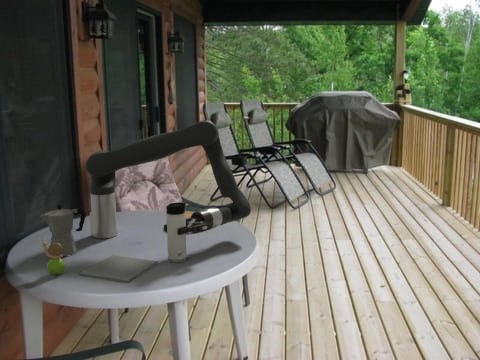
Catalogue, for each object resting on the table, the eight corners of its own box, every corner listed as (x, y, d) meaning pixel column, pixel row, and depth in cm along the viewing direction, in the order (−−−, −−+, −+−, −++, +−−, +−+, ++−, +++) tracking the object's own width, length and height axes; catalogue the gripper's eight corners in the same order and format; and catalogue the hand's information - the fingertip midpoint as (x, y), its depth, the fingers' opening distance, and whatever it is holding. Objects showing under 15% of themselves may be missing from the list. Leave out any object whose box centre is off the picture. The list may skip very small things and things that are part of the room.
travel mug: (184, 263, 181) (182, 205, 177) (165, 262, 183) (163, 204, 178) (189, 257, 187) (188, 200, 183) (171, 255, 189) (169, 200, 184)
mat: (79, 274, 172) (79, 273, 172) (112, 256, 189) (112, 255, 189) (128, 282, 166) (128, 280, 166) (157, 262, 182) (157, 261, 182)
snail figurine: (47, 271, 176) (43, 235, 173) (67, 270, 176) (64, 235, 174) (42, 277, 170) (39, 241, 168) (63, 276, 171) (60, 240, 169)
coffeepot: (45, 260, 186) (40, 209, 182) (42, 252, 194) (38, 203, 191) (91, 253, 192) (87, 204, 189) (86, 245, 201) (83, 198, 197)
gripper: (192, 206, 197) (156, 215, 185) (221, 212, 188) (185, 223, 176) (193, 225, 199) (157, 236, 186) (221, 233, 189) (186, 245, 177)
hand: (171, 230), depth 181 cm, fingers closed on travel mug, 6 cm apart
